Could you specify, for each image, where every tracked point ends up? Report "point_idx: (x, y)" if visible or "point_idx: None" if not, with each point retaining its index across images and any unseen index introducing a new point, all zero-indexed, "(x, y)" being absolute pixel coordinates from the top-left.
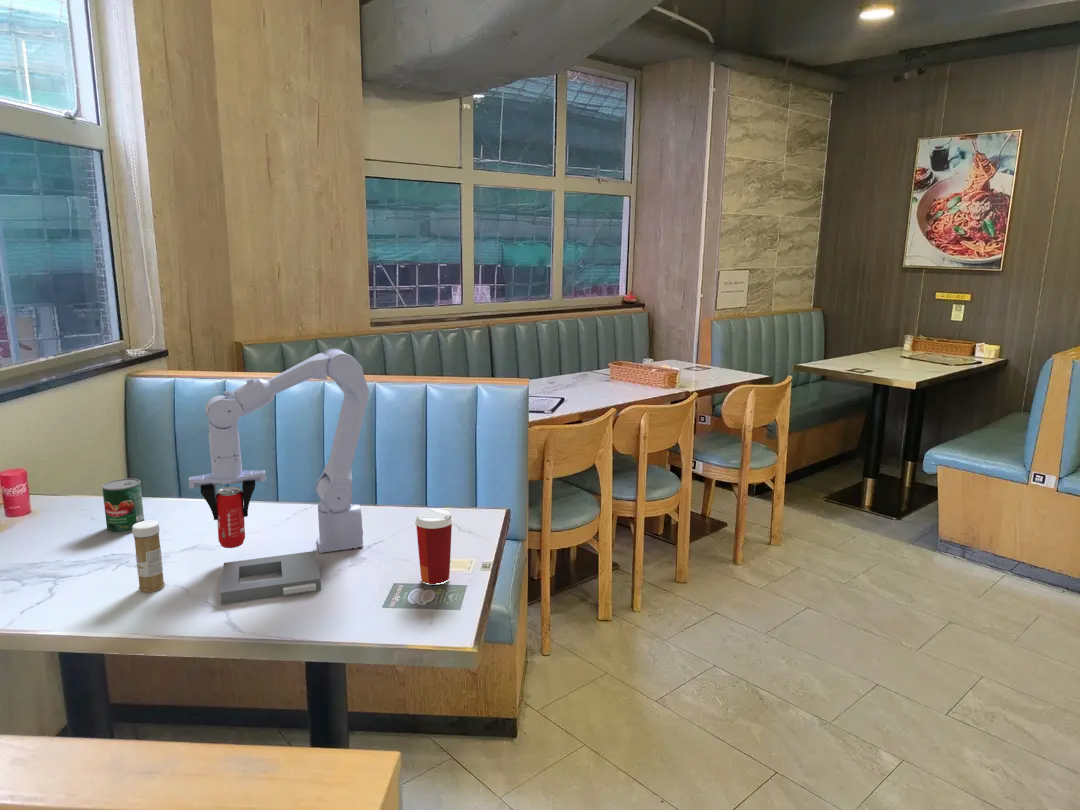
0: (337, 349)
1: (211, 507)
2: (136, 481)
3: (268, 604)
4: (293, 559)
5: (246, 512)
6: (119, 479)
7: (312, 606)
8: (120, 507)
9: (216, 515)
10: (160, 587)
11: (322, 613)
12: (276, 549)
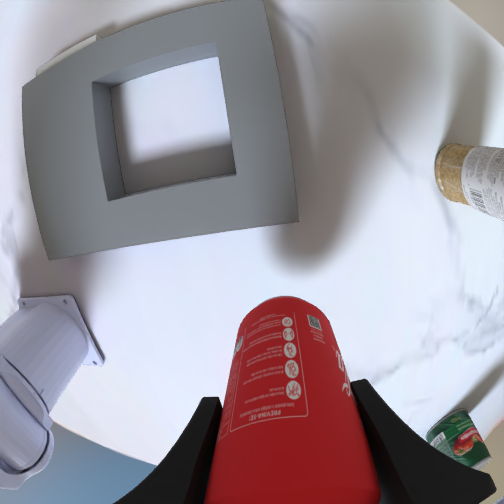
0: None
1: (401, 428)
2: None
3: (141, 14)
4: (79, 209)
5: (198, 412)
6: None
7: (61, 23)
8: (470, 440)
9: (362, 396)
10: (441, 153)
11: (52, 6)
12: (179, 345)
